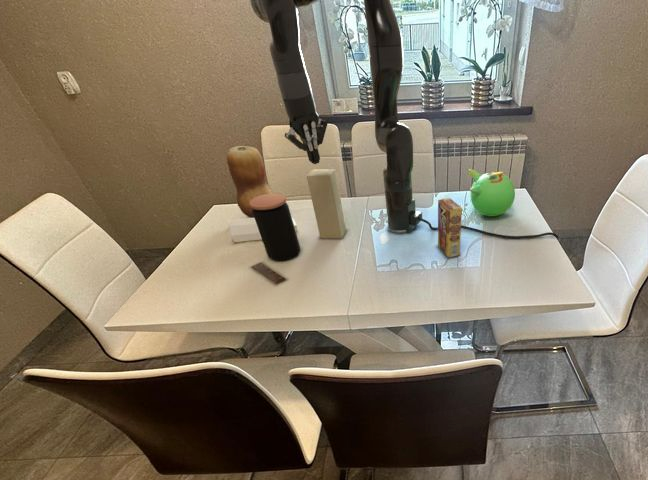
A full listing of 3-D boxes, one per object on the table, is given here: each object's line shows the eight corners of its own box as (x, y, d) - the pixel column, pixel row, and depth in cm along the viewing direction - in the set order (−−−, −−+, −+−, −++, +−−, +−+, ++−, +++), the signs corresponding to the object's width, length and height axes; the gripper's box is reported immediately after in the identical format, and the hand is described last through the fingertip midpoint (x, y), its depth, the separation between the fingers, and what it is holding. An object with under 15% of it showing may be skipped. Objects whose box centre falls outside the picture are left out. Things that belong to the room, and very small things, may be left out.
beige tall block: (347, 229, 136) (336, 167, 122) (342, 238, 131) (330, 175, 117) (326, 229, 137) (312, 168, 123) (320, 238, 132) (305, 176, 118)
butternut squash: (278, 222, 144) (256, 150, 127) (242, 227, 142) (215, 155, 125) (280, 208, 154) (259, 140, 137) (246, 212, 152) (221, 144, 135)
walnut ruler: (285, 279, 113) (285, 278, 112) (276, 284, 111) (276, 282, 111) (261, 263, 121) (260, 262, 120) (252, 267, 119) (251, 266, 119)
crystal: (222, 236, 128) (293, 229, 129) (223, 218, 130) (293, 212, 131) (232, 248, 135) (300, 242, 136) (233, 231, 137) (299, 225, 138)
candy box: (460, 255, 119) (462, 207, 108) (448, 258, 118) (448, 210, 107) (449, 243, 125) (450, 197, 114) (437, 246, 124) (437, 199, 113)
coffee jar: (307, 248, 127) (292, 194, 115) (290, 264, 120) (273, 208, 107) (279, 245, 129) (262, 192, 117) (262, 260, 122) (241, 205, 110)
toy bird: (516, 222, 134) (522, 179, 124) (468, 224, 135) (470, 181, 125) (508, 202, 147) (512, 162, 137) (464, 204, 148) (466, 164, 138)
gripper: (309, 82, 98) (325, 151, 112) (265, 97, 93) (288, 168, 106) (326, 87, 95) (341, 157, 108) (282, 102, 89) (304, 175, 102)
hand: (315, 162), depth 107 cm, fingers closed
